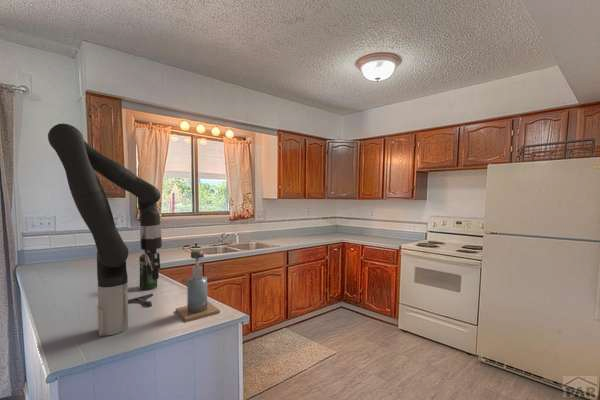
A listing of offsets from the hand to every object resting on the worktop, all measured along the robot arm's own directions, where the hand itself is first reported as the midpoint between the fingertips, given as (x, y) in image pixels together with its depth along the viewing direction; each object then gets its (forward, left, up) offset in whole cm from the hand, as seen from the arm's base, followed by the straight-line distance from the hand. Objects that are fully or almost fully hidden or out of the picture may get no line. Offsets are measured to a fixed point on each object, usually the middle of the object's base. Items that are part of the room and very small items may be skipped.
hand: (152, 276), depth 115 cm
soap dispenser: (+17, -3, -17) cm, 24 cm away
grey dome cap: (+17, -5, +1) cm, 17 cm away
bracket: (+1, +24, -18) cm, 30 cm away
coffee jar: (+8, +47, -18) cm, 51 cm away
